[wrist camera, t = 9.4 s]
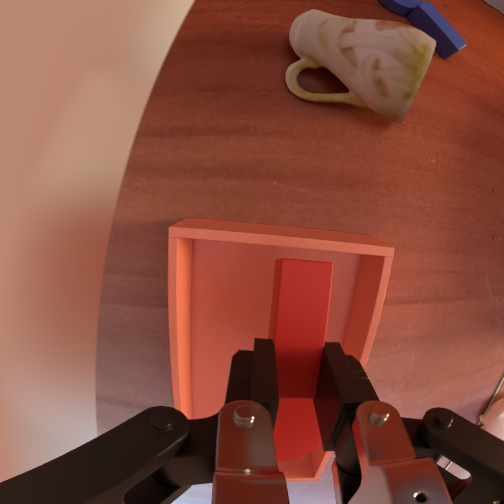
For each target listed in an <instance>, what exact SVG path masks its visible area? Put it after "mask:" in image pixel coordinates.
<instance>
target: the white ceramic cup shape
mask: <svg viewBox="0 0 504 504" xmlns="http://www.w3.org/2000/svg"><path fill="white" fill-rule="evenodd" d="M289 40H290V44H291V46H292V48H293V49H294V51H295V53H296V54H297V55H298V56H299V57H300V58H301V59H300V60H299V61H297V62H295V63H293V64H291V65H290V66H289V67H288V69H287V70H286V73H285V81H286V84H287V86H288V88H289V90H290V91H291V92H292V93H293V94H295V95H296V96H298V97H299V98H302V99H304V100H307V101H312V102H334V103H344V104H350V105H353V106H357V107H359V108H362V109H371V110H373V111H374V112H376V113H377V114H379V115H381V116H383V117H385V118H387V119H389V120H392V121H394V122H397V123H401V122H402V121H403V119H404V118H405V116H406V114H407V112H408V110H409V108H410V106H411V104H412V102H413V100H414V98H415V96H416V94H417V92H418V90H419V88H420V85H421V83H422V81H423V79H424V76H425V74H426V72H427V69H428V67H429V64H430V61H431V59H432V56H433V53H434V50H435V46H436V41H435V40H434V39H433V38H431V37H430V36H428V35H427V34H426V33H424V32H423V31H421V30H419V29H417V28H415V27H413V26H410V25H407V24H404V23H400V22H395V21H386V20H373V19H356V18H346V17H341V16H336V15H332V14H329V13H326V12H322V11H318V10H315V9H313V10H310V11H307V12H304V13H302V14H301V15H299V16H298V17H297V18H296V19H295V20H294V22H293V24H292V25H291V28H290V33H289ZM320 67H325V68H327V69H328V70H330V71H331V72H332V73H333V74H334V75H335V76H336V77H337V78H338V79H339V80H340V81H341V82H342V83H343V84H344V85H345V86H346V87H347V88H348V89H349V92H347V93H332V94H320V93H311V92H307V91H305V90H303V89H302V88H301V87H299V85H298V83H297V78H298V75H299V73H300V72H301V70H303V69H305V68H313V69H316V68H320Z"/></svg>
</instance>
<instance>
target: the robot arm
mask: <svg viewBox="0 0 504 504" xmlns="http://www.w3.org/2000/svg"><path fill="white" fill-rule="evenodd" d="M313 403H314V407H315V412H316V417H317V421H318V426H319V431H320V435H321V440H322V445H323V450H324V452H328V451H335V455H336V458H335V460H334V462H333V464H332V472H333V480H334V489H335V498H336V504H504V441H503V440H501V439H500V438H498V437H496V436H494V435H492V434H491V433H489V432H487V431H485V430H484V429H482V428H480V427H478V426H477V425H475V424H473V423H471V422H470V421H468V420H466V419H464V418H463V417H461V416H459V415H458V414H456V413H454V412H453V411H451V410H448V409H445V408H432V409H430V410H428V411H427V412H426V413H425V415H424V417H423V419H411V418H402V417H400V415H399V413H398V411H397V410H396V409H395V408H394V407H393V406H392V405H390V404H388V403H385V402H382V401H380V400H379V398H378V396H377V394H376V392H375V390H374V388H373V386H372V384H371V382H370V380H369V379H368V376H367V374H366V373H365V372H364V369H363V367H362V365H361V363H360V362H359V361H358V360H357V359H356V358H355V357H353V356H352V355H345V353H344V351H343V349H342V347H341V345H340V343H339V342H325V344H324V347H323V352H322V359H321V365H320V371H319V377H318V383H317V389H316V395H315V399H313ZM278 407H279V390H278V378H277V365H276V353H275V345H274V344H273V340H272V339H265V338H254V347H253V351H251V350H240V349H239V350H238V351H237V352H236V353H235V354H234V355H233V356H232V361H231V367H230V373H229V379H228V385H227V392H226V398H225V403H224V406H223V407H222V408H221V409H220V411H219V412H218V413H216V414H215V415H212V416H210V417H206V418H201V419H189V420H188V418H187V417H186V416H185V415H184V414H183V413H182V412H181V411H179V410H177V409H175V408H172V407H166V406H156V407H151V408H148V409H146V410H144V411H142V412H141V413H139V414H137V415H136V416H134V417H132V418H131V419H129V420H127V421H125V422H124V423H122V424H120V425H118V426H117V427H115V428H113V429H111V430H110V431H108V432H106V433H104V434H102V435H100V436H99V437H97V438H95V439H93V440H91V441H89V442H87V443H85V444H84V445H82V446H80V447H78V448H76V449H74V450H72V451H70V452H68V453H66V454H64V455H62V456H60V457H58V458H56V459H54V460H52V461H49V462H47V463H45V464H43V465H41V466H39V467H36V468H34V469H32V470H30V471H27V472H25V473H23V474H20V475H18V476H16V477H13V478H11V479H8V480H6V481H3V482H1V483H0V504H171V503H172V502H173V501H174V500H176V499H177V498H178V497H179V496H181V495H182V494H183V493H184V492H185V491H187V490H188V489H189V488H190V487H191V486H192V485H196V484H206V483H213V487H212V504H290V503H289V497H288V491H287V484H286V479H285V475H284V473H283V472H282V471H279V470H278V465H277V458H276V450H275V443H274V436H273V431H274V427H275V422H276V417H277V412H278ZM442 455H443V456H444V457H446V458H448V459H449V460H451V461H452V462H454V463H455V464H457V465H459V466H460V467H462V468H463V469H465V470H467V471H468V472H469V473H470V474H471V476H470V477H469V478H467V479H459V478H457V477H456V476H454V475H453V474H451V473H450V472H448V471H447V470H445V469H444V468H442V467H441V466H439V465H438V464H436V463H437V462H438V461H439V459H440V458H441V457H442Z"/></svg>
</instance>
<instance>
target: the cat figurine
mask: <svg viewBox="0 0 504 504" xmlns="http://www.w3.org/2000/svg"><path fill="white" fill-rule="evenodd" d="M480 420H481V421H482V423H483V424H484V425H482V426H481V427H480V428H482V429H484V430H485V431H487V432H489V433H491V434H492V435H494V436H496V437H498V438H500V439H501V440H503V441H504V399H501V400H499V401H497V402H495V403H494V404H493V405H492V406H491V407H490V409H489V410H488V412H487V415H483V414H482V415H480Z"/></svg>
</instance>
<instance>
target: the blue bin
mask: <svg viewBox="0 0 504 504" xmlns="http://www.w3.org/2000/svg"><path fill="white" fill-rule="evenodd" d="M483 1H485V2H486V3H488V4H489V5H491V6H492V7H494V8H495V9H497V10H498V11H500V12H501V13H502V14H504V0H483Z"/></svg>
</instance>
